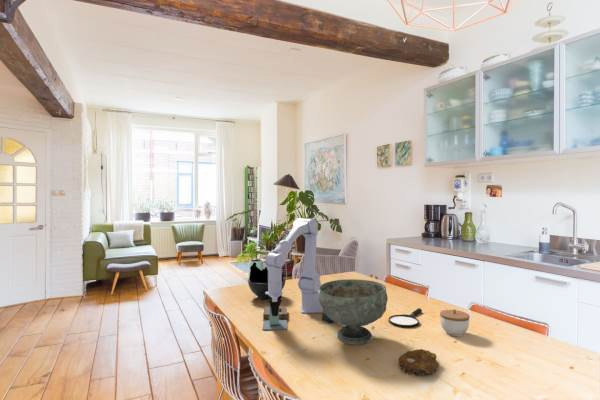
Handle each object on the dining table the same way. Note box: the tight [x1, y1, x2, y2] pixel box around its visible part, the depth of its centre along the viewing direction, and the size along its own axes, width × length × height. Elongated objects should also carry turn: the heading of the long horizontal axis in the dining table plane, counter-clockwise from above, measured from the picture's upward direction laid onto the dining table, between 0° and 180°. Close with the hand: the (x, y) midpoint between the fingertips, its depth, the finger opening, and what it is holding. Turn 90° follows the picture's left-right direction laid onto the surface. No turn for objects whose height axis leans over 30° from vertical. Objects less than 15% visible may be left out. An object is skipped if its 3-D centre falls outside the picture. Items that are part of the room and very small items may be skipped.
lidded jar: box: [439, 309, 470, 337], centre depth 140 cm, size 11×11×9 cm
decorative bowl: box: [319, 278, 389, 345], centre depth 136 cm, size 26×26×20 cm
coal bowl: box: [247, 261, 287, 300], centre depth 189 cm, size 20×20×19 cm
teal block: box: [268, 304, 279, 325], centre depth 148 cm, size 4×4×9 cm
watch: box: [321, 312, 335, 324], centre depth 154 cm, size 6×8×11 cm
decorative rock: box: [397, 348, 440, 376], centre depth 113 cm, size 11×4×15 cm
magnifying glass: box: [388, 307, 423, 329], centre depth 156 cm, size 12×24×2 cm, turn 140°
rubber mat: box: [262, 319, 288, 331], centre depth 149 cm, size 10×10×1 cm
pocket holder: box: [262, 306, 288, 321], centre depth 161 cm, size 10×10×2 cm
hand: (275, 313), depth 149 cm, fingers closed on teal block, 4 cm apart
